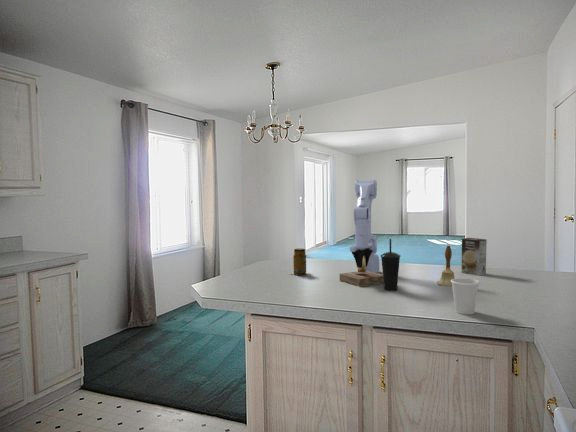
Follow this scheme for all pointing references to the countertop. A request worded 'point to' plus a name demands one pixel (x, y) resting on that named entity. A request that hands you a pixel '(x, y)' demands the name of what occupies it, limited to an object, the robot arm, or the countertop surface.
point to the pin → (363, 265)
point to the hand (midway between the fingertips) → (362, 266)
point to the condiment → (299, 262)
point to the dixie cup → (465, 295)
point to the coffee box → (474, 256)
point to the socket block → (361, 278)
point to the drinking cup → (390, 269)
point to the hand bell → (447, 270)
